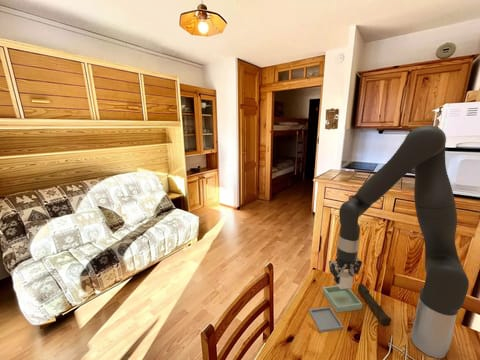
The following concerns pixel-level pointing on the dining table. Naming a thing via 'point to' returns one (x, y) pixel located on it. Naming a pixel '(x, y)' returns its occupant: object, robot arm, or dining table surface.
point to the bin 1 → (325, 319)
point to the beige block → (345, 280)
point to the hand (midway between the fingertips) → (342, 281)
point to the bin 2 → (342, 299)
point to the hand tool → (374, 305)
